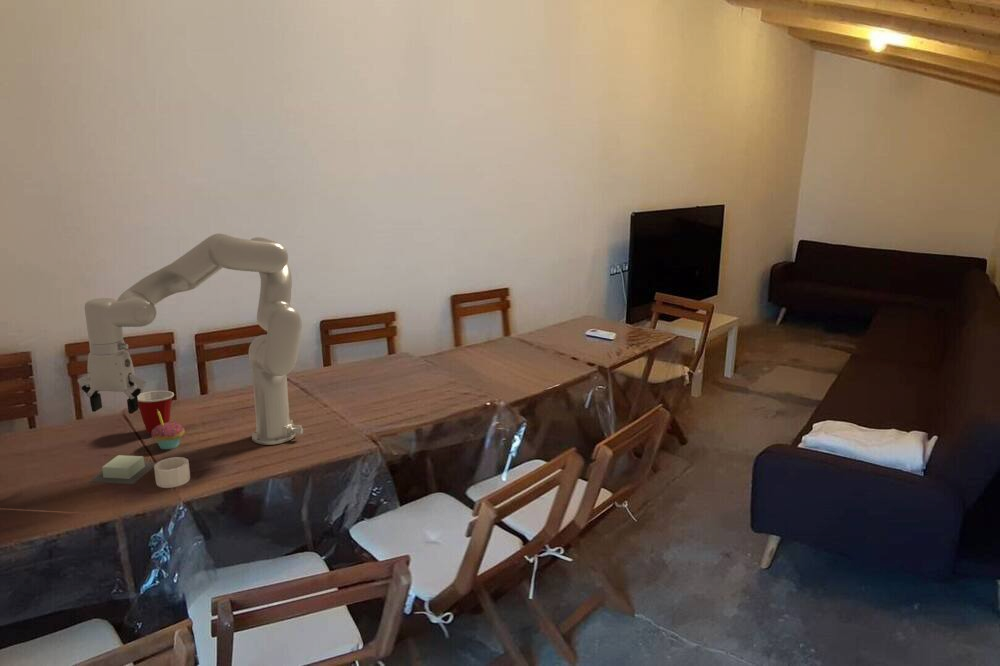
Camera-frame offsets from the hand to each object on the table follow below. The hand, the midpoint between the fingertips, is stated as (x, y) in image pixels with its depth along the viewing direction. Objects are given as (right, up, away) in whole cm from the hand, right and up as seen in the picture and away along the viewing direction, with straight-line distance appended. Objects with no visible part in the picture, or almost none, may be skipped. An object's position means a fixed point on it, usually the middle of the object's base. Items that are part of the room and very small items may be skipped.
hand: (115, 410), depth 172 cm
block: (0, -17, +5) cm, 18 cm away
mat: (0, -17, +5) cm, 18 cm away
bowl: (+14, -19, +1) cm, 24 cm away
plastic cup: (-5, -10, +31) cm, 33 cm away
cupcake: (+4, -13, +21) cm, 25 cm away
